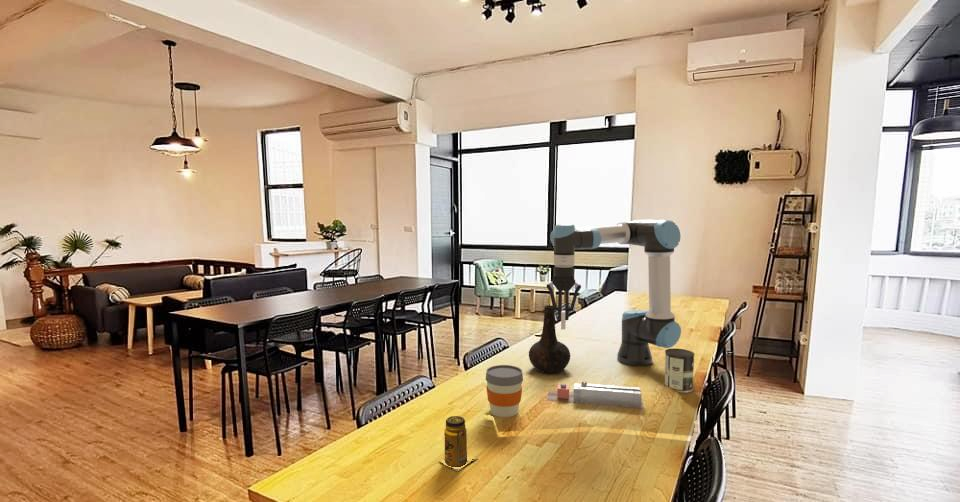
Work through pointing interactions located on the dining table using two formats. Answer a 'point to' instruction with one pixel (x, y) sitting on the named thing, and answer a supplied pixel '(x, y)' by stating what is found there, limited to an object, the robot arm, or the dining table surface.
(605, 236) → the robot arm
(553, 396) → the board
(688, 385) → the coffee can
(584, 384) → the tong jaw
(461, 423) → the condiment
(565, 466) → the dining table surface
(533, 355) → the dark brown vase
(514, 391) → the reusable coffee cup
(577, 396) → the grey long bar
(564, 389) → the tab
